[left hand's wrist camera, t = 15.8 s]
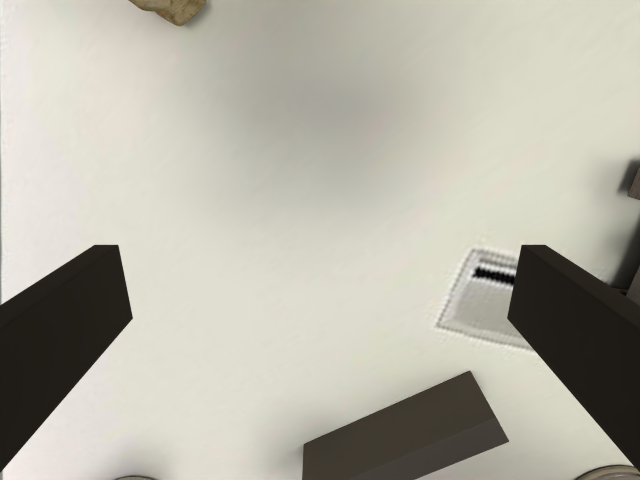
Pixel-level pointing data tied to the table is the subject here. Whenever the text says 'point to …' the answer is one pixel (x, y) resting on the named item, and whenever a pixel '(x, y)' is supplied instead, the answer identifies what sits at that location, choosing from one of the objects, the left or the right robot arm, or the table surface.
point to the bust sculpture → (134, 478)
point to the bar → (409, 436)
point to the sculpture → (172, 9)
